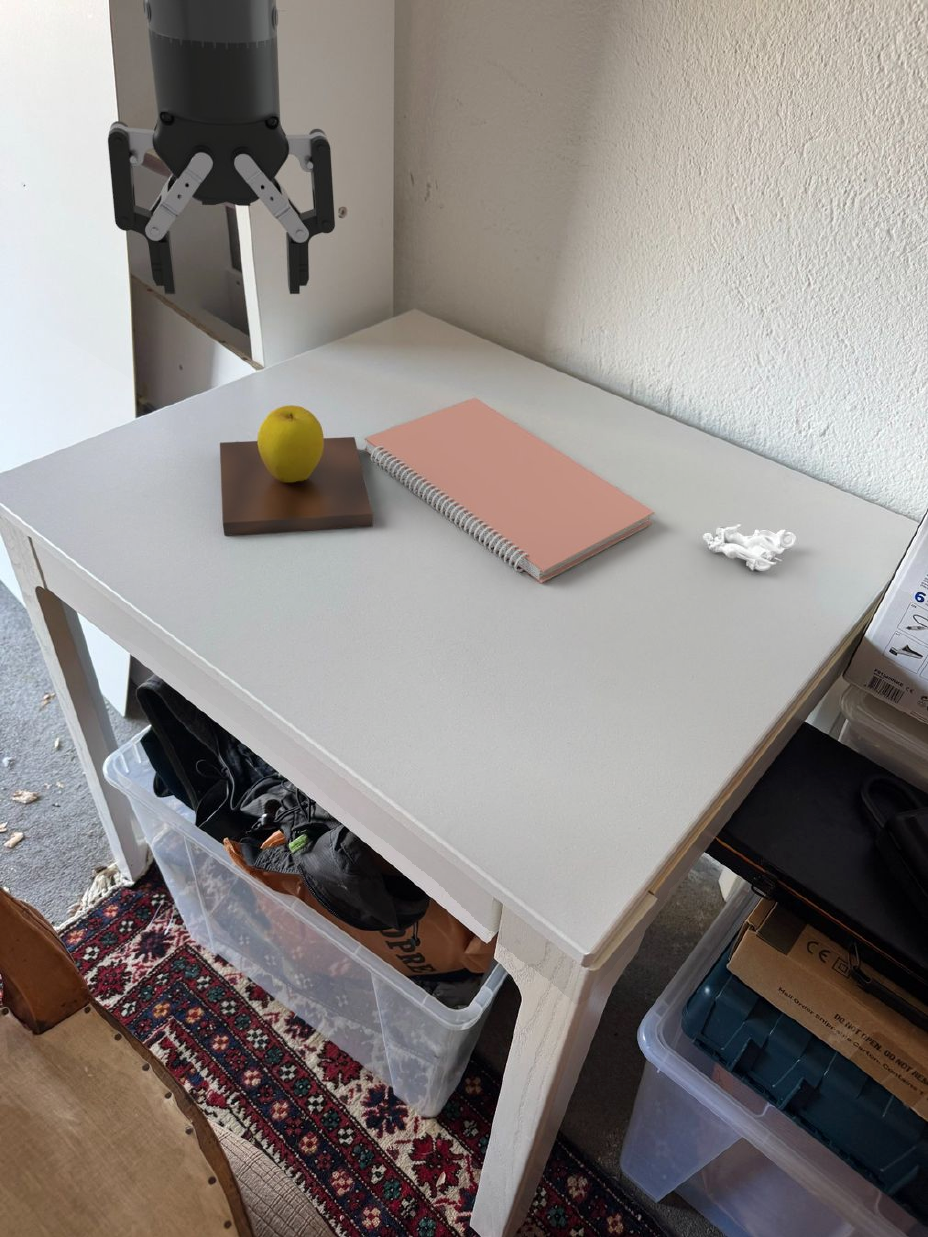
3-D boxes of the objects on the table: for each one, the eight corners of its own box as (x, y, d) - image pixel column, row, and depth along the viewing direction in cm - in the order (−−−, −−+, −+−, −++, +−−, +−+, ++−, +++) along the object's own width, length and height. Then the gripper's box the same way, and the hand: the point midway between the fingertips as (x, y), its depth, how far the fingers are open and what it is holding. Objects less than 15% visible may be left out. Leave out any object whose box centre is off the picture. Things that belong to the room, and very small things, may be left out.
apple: (292, 503, 89) (288, 431, 84) (247, 476, 92) (240, 404, 86) (339, 477, 93) (338, 406, 87) (294, 452, 96) (291, 382, 90)
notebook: (356, 454, 99) (356, 438, 98) (473, 410, 108) (475, 395, 106) (533, 589, 85) (535, 572, 83) (651, 525, 94) (655, 509, 92)
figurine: (690, 553, 91) (733, 518, 96) (760, 589, 88) (801, 551, 92) (696, 528, 89) (740, 494, 94) (768, 565, 86) (809, 527, 90)
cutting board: (224, 535, 87) (222, 522, 86) (220, 454, 97) (219, 442, 96) (372, 526, 90) (372, 514, 89) (354, 448, 100) (354, 436, 99)
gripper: (326, 19, 59) (327, 270, 70) (90, 3, 56) (129, 269, 67) (339, 43, 54) (339, 312, 65) (80, 27, 51) (124, 312, 62)
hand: (232, 290), depth 66 cm, fingers open, 8 cm apart
